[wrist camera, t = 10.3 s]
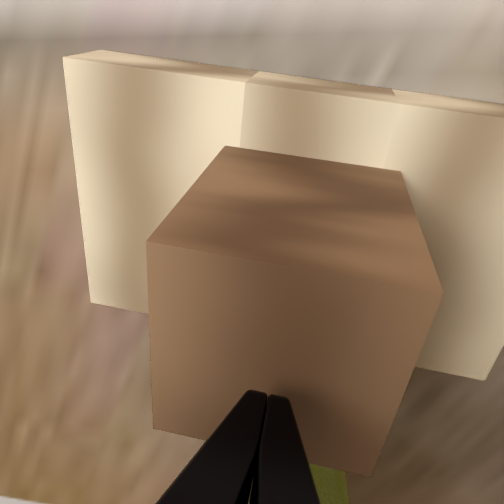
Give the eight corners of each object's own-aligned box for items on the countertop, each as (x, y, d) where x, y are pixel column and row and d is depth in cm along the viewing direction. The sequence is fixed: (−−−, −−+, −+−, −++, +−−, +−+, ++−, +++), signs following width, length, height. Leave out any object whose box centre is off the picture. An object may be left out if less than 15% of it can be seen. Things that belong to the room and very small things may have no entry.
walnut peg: (392, 147, 15) (444, 293, 8) (358, 276, 18) (371, 477, 10) (240, 126, 16) (145, 241, 8) (230, 253, 19) (153, 428, 11)
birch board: (574, 113, 14) (616, 133, 12) (468, 337, 19) (484, 380, 16) (101, 49, 15) (62, 56, 13) (117, 270, 20) (90, 302, 18)
